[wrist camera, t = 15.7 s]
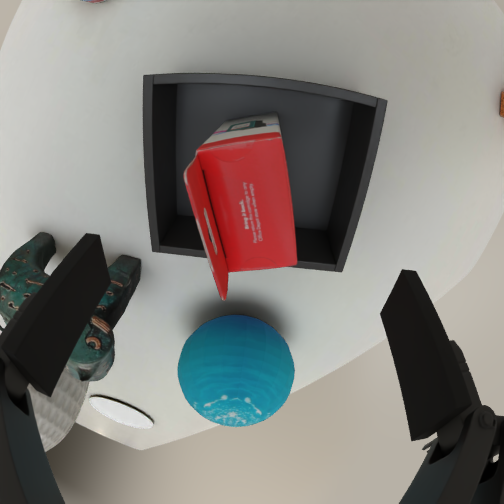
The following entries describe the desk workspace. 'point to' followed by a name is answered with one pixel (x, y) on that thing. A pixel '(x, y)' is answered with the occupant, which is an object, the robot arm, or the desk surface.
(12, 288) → the ceramic cat
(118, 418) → the plate
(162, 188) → the basket
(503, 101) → the supplement box
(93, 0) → the pill bottle
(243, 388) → the decorative orb
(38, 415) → the vase
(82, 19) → the desk surface
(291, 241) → the ink box
